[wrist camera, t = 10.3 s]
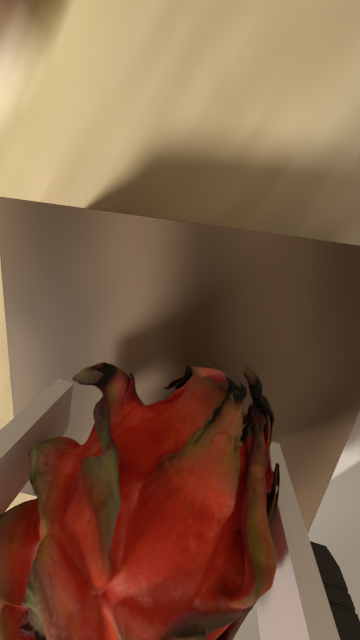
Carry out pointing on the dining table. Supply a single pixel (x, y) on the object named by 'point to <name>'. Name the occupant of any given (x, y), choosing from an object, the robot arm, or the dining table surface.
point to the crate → (186, 320)
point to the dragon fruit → (146, 517)
